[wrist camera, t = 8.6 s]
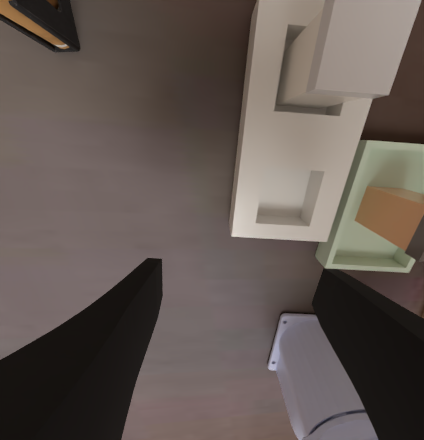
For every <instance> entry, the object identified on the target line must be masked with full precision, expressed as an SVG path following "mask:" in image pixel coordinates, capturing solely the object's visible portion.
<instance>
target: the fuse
mask: <svg viewBox="0 0 424 440" xmlns="http://www.w3.org/2000/svg"><path fill="white" fill-rule="evenodd" d="M420 3H421V0H325V2H324V7H323V9H322V10H321V11H320V12H319V13H318V14H317V16H316V17H315V18H314V19H313V20H312V21H311V22H310V23H309V25H308V26H307V27H306V28H305V29H304V30H303V31H302V32H301V33H300V35H299V36H298V37H297V38H296V39H295V40H294V41H293V42H292V43H291V45H290V46H289V47H288V48H287V49H286V50H285V51H284V58H283V64H282V70H281V76H280V82H279V88H278V94H277V100H276V105H278V106H291V107H304V108H316V109H319V108H324V107H328V106H332V105H336V104H341V103H345V102H349V101H353V100H358V99H362V98H370V99H374V98H378V97H383V96H387V95H389V93H390V90H391V87H392V84H393V82H394V79H395V76H396V73H397V70H398V67H399V64H400V61H401V58H402V55H403V52H404V50H405V47H406V44H407V41H408V38H409V35H410V32H411V29H412V26H413V23H414V20H415V18H416V15H417V12H418V9H419V6H420Z"/></svg>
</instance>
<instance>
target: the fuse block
mask: <svg viewBox="0 0 424 440" xmlns="http://www.w3.org/2000/svg"><path fill="white" fill-rule="evenodd" d="M324 2H325V0H257V2H256V4H255V7H254V10H253V13H252V16H251V25H250V34H249V43H248V52H247V62H246V71H245V80H244V89H243V98H242V108H241V117H240V126H239V135H238V144H237V154H236V163H235V172H234V181H233V190H232V200H231V209H230V218H229V227H230V232H231V236H232V237H248V238H266V239H283V240H300V241H318V242H327V240H328V237H329V234H330V231H331V227H332V224H333V221H334V218H335V215H336V212H337V209H338V206H339V202H340V199H341V196H342V193H343V190H344V187H345V184H346V180H347V177H348V174H349V171H350V168H351V165H352V162H353V159H354V155H355V152H356V149H357V146H358V143H359V140H360V137H361V134H362V130H363V127H364V124H365V121H366V118H367V115H368V112H369V108H370V105H371V102H372V99H370V98H362V99H358V100H353V101H349V102H345V103H341V104H336V105H332V106H328V107H324V108H319V109H316V108H304V107H291V106H278V105H276V100H277V94H278V88H279V82H280V76H281V70H282V64H283V58H284V51H285V50H286V49H287V48H288V47H289V46H290V45H291V43H292V42H293V41H294V40H295V39H296V38H297V37H298V36H299V35H300V33H301V32H302V31H303V30H304V29H305V28H306V27H307V26H308V25H309V23H310V22H311V21H312V20H313V19H314V18H315V17H316V16H317V14H318V13H319V12H320V11H321V10H322V9H323V7H324Z"/></svg>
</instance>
